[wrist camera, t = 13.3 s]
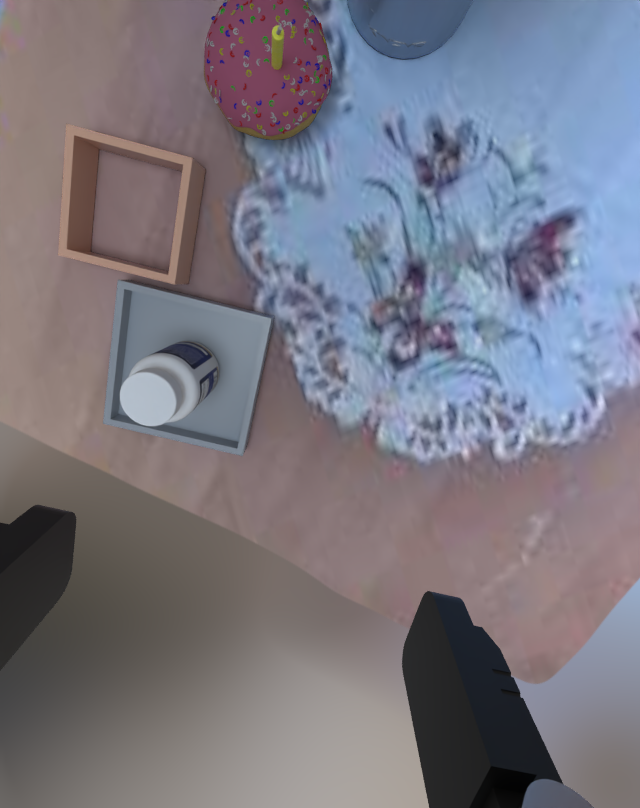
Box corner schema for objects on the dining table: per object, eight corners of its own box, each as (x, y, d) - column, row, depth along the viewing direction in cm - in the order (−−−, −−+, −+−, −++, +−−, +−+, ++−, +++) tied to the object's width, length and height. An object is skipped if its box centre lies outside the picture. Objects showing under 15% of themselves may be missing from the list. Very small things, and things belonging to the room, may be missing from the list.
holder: (92, 139, 34) (66, 123, 30) (205, 169, 34) (192, 157, 31) (83, 257, 36) (58, 255, 33) (188, 283, 37) (174, 284, 33)
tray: (129, 279, 37) (117, 279, 35) (274, 316, 37) (271, 318, 35) (114, 416, 40) (103, 423, 38) (246, 447, 41) (242, 455, 39)
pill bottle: (150, 353, 38) (93, 378, 29) (203, 330, 37) (162, 348, 28) (179, 406, 39) (133, 446, 30) (230, 385, 39) (199, 419, 29)
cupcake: (352, 85, 32) (368, -22, 21) (286, 181, 34) (266, 132, 23) (262, -1, 31) (225, -166, 19) (198, 105, 33) (130, 12, 21)
